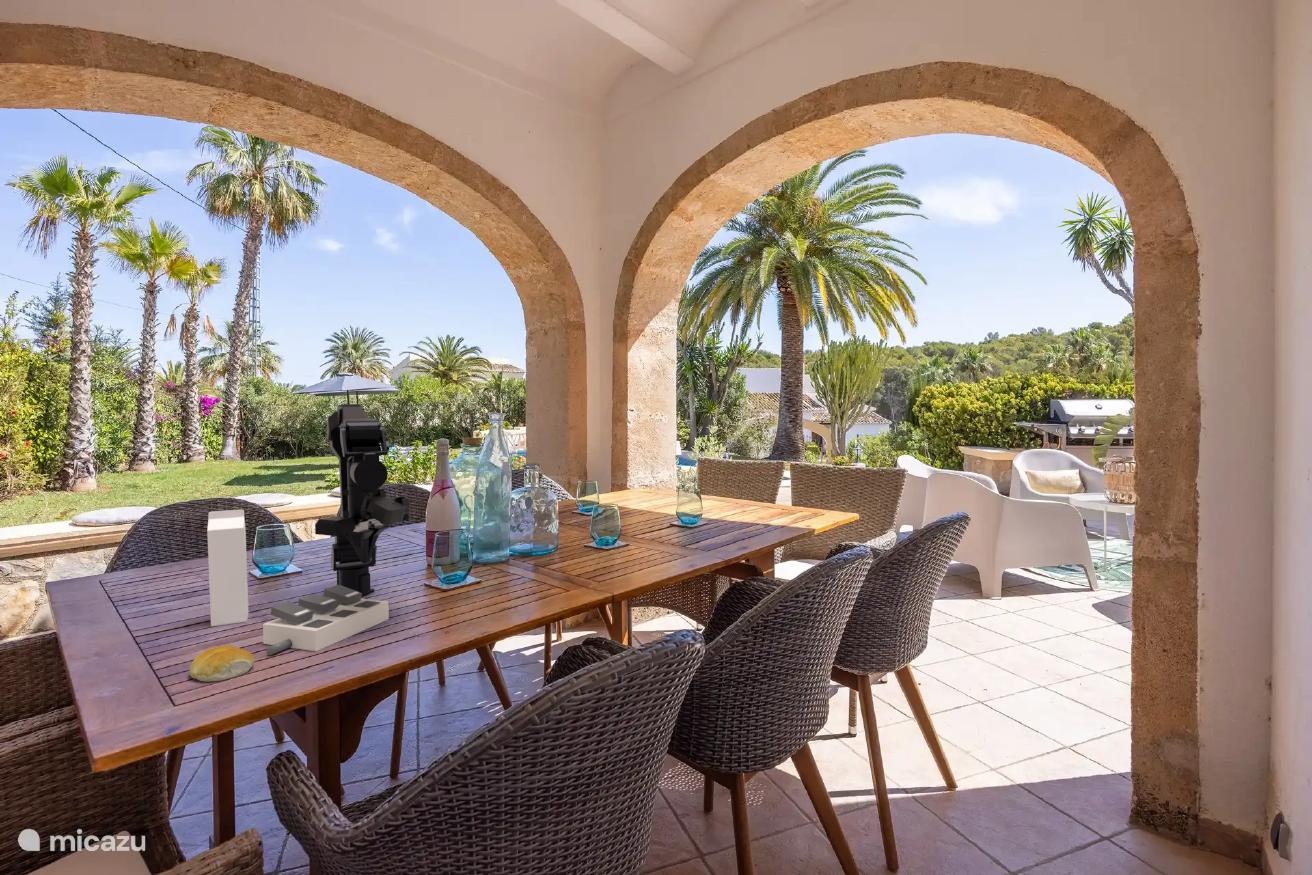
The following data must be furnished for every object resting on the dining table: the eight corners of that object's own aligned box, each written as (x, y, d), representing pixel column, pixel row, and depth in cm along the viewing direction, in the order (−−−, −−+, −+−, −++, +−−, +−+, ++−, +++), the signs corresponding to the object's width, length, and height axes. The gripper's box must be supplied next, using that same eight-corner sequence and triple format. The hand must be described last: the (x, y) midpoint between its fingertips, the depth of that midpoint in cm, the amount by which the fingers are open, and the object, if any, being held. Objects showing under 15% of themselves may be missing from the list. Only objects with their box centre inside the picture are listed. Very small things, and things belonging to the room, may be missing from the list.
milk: (247, 622, 130) (243, 511, 129) (210, 627, 127) (206, 514, 126) (248, 613, 135) (245, 507, 134) (213, 618, 132) (209, 509, 131)
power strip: (243, 651, 114) (242, 630, 114) (340, 613, 135) (340, 595, 135) (296, 659, 110) (296, 637, 110) (388, 619, 131) (388, 600, 131)
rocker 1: (270, 614, 118) (271, 606, 118) (287, 608, 122) (288, 600, 122) (295, 624, 117) (297, 616, 116) (312, 618, 120) (313, 610, 120)
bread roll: (234, 658, 112) (234, 635, 111) (262, 669, 107) (261, 645, 106) (178, 675, 105) (178, 650, 104) (205, 688, 100) (204, 662, 100)
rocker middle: (298, 606, 124) (298, 598, 124) (313, 600, 127) (314, 593, 127) (323, 612, 122) (323, 605, 122) (338, 607, 126) (338, 599, 126)
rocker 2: (323, 595, 130) (324, 588, 130) (337, 590, 133) (338, 584, 133) (347, 604, 128) (348, 597, 128) (360, 599, 131) (362, 592, 131)
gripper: (358, 492, 117) (360, 578, 118) (429, 480, 134) (430, 555, 135) (311, 489, 121) (314, 573, 122) (386, 478, 138) (387, 551, 139)
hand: (365, 562), depth 129 cm, fingers closed
